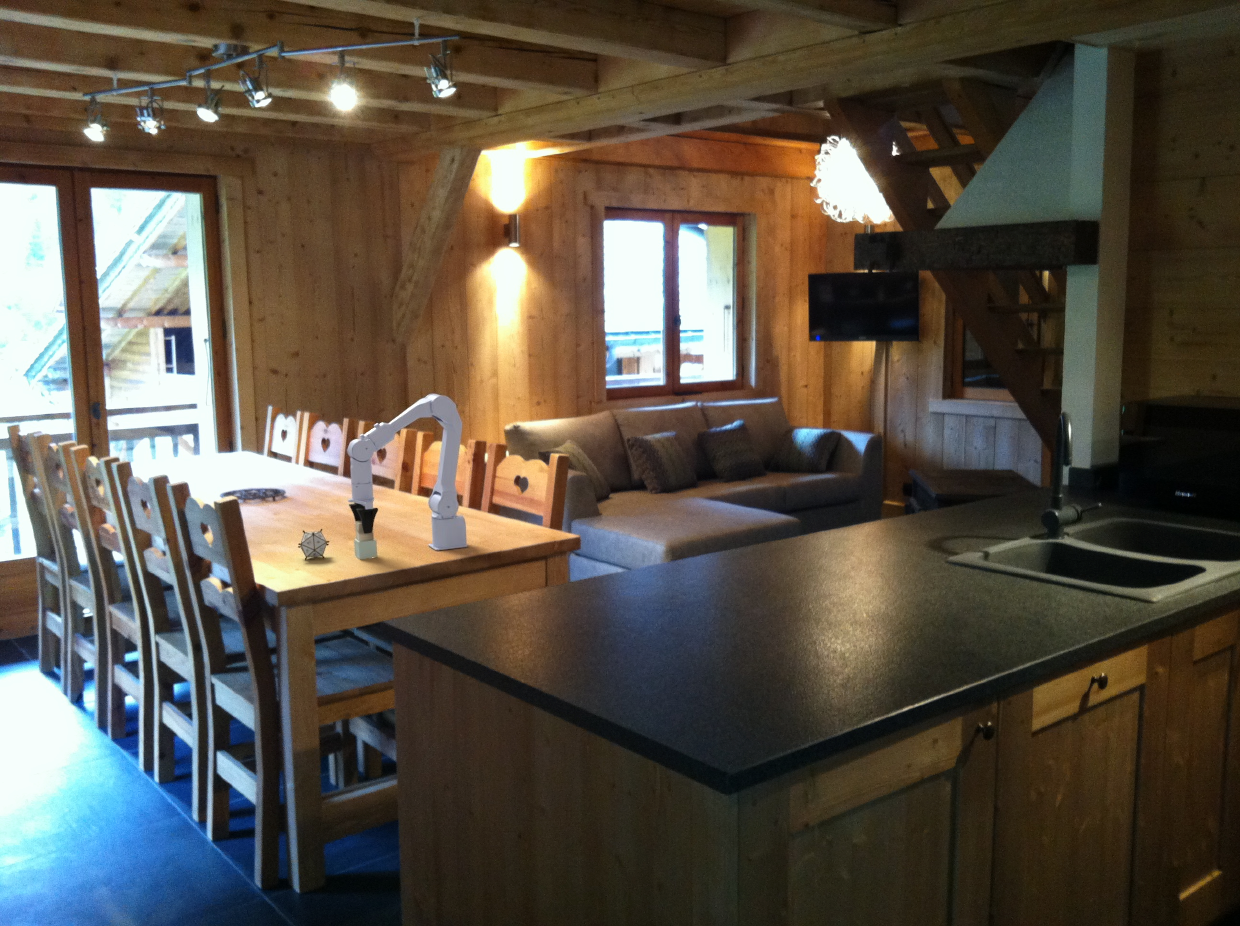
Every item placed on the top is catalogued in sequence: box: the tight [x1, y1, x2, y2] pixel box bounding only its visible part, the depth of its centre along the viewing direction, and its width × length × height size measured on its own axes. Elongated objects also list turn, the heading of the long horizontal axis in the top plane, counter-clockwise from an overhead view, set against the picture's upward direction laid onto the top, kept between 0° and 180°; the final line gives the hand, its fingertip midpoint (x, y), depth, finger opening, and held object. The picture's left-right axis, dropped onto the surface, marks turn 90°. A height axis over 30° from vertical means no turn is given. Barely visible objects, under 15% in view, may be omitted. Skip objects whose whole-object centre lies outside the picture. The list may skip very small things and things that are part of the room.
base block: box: [353, 538, 378, 560], centre depth 303 cm, size 5×5×5 cm
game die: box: [297, 528, 330, 561], centre depth 302 cm, size 9×8×10 cm
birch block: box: [354, 520, 375, 542], centre depth 302 cm, size 4×4×5 cm
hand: (364, 530), depth 302 cm, fingers open, 7 cm apart
